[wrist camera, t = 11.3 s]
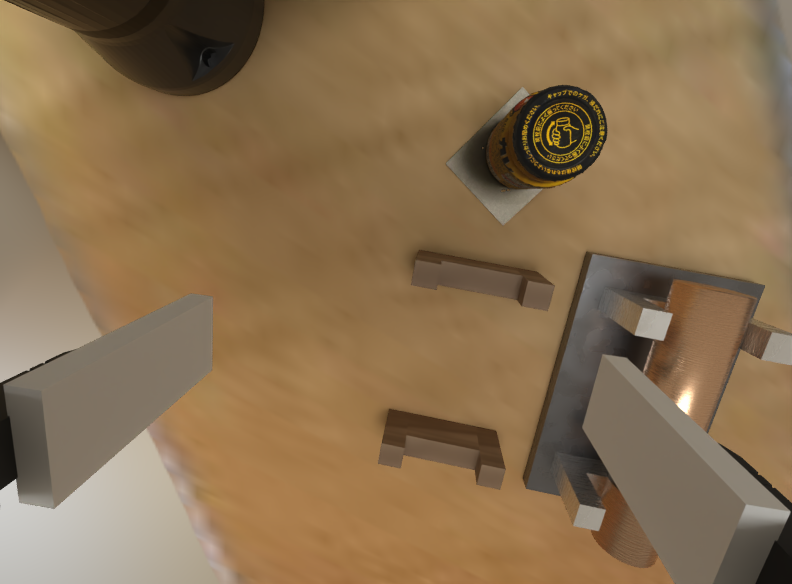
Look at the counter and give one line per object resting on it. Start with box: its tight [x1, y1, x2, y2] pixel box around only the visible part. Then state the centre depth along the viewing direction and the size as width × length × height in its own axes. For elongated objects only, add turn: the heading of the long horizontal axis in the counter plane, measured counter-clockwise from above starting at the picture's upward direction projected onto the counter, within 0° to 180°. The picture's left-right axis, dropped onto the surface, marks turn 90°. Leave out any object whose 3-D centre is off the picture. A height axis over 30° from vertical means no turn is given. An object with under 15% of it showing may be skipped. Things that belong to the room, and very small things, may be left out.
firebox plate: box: [523, 252, 792, 531], centre depth 35 cm, size 23×14×8 cm, turn 170°
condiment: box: [446, 85, 607, 225], centre depth 30 cm, size 7×8×12 cm
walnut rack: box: [378, 250, 555, 490], centre depth 37 cm, size 18×11×6 cm, turn 170°
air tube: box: [591, 279, 757, 568], centre depth 33 cm, size 22×5×5 cm, turn 170°
